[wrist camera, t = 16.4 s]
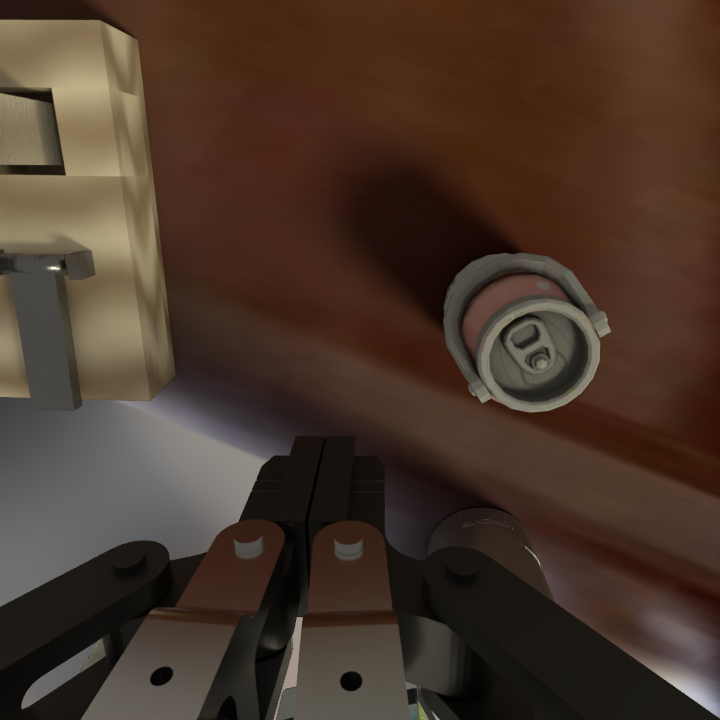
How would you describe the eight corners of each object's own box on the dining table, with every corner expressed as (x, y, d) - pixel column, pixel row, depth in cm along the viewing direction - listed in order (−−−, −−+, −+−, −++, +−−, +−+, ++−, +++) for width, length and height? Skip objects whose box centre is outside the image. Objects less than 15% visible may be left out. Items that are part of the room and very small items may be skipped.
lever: (90, 404, 38) (79, 412, 37) (36, 403, 38) (23, 410, 37) (70, 253, 35) (57, 255, 34) (11, 251, 35) (-4, 253, 34)
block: (175, 376, 43) (139, 411, 37) (32, 371, 44) (-28, 406, 38) (137, 39, 35) (82, 11, 29) (-38, 39, 36) (-131, 10, 29)
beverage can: (412, 278, 40) (423, 321, 29) (512, 214, 38) (566, 233, 27) (474, 375, 42) (506, 450, 31) (571, 319, 40) (643, 378, 29)
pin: (90, 165, 37) (-32, 164, 26) (39, 164, 37) (-102, 163, 27) (81, 108, 36) (-51, 83, 25) (29, 108, 36) (-124, 82, 25)
